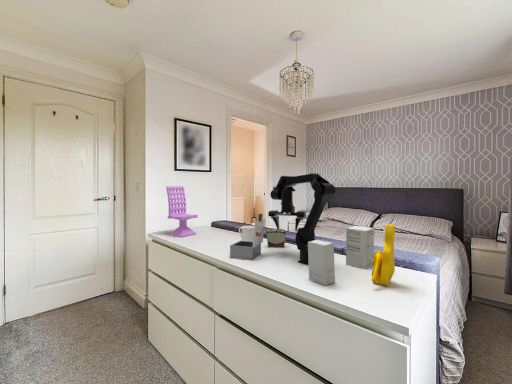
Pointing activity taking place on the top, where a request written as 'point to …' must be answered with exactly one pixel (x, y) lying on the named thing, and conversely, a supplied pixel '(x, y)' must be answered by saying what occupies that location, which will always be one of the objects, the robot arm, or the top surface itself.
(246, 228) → the mug
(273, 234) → the food container
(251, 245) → the grey open box
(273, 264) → the top surface
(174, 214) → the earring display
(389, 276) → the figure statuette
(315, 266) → the skincare box
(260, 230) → the tabbed silver plate
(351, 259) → the supplement box
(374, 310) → the top surface
